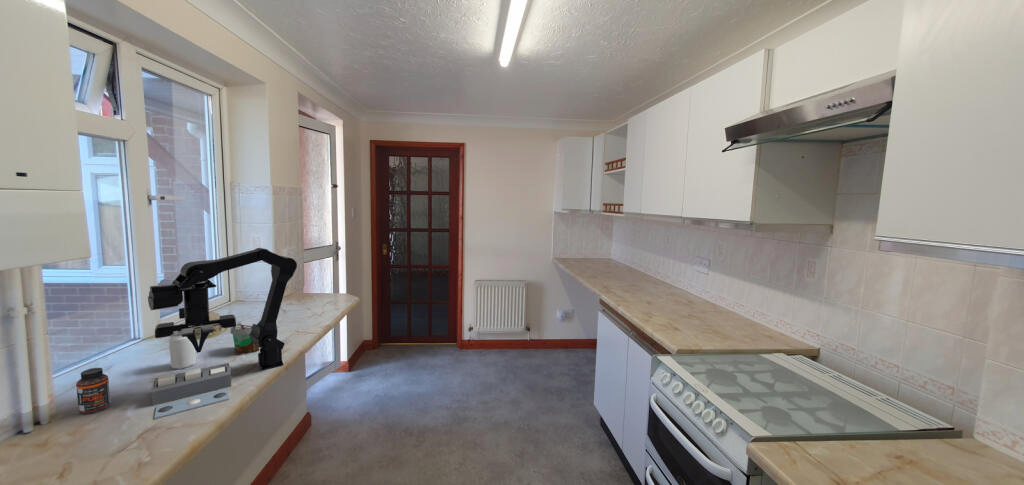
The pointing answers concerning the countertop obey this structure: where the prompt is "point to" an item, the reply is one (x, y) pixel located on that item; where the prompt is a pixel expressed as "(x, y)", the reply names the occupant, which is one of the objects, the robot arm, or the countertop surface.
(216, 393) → the pattern card
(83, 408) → the supplement bottle
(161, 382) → the button
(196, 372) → the button middle
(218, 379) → the button board
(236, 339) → the food container
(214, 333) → the ceramic model
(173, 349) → the can
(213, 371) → the button
